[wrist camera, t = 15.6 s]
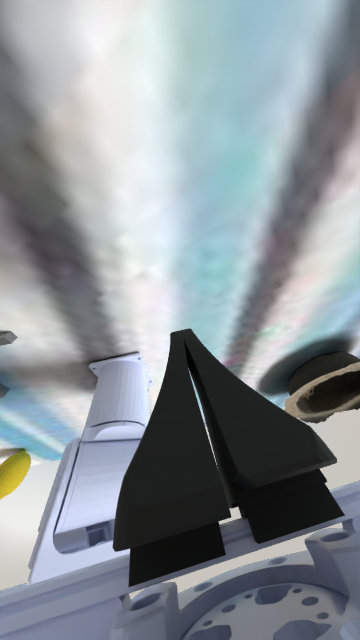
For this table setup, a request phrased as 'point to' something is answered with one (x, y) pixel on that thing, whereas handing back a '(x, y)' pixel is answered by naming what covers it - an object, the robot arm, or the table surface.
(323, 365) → the stone bowl
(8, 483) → the lemon
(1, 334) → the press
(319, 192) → the table surface
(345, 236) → the table surface
